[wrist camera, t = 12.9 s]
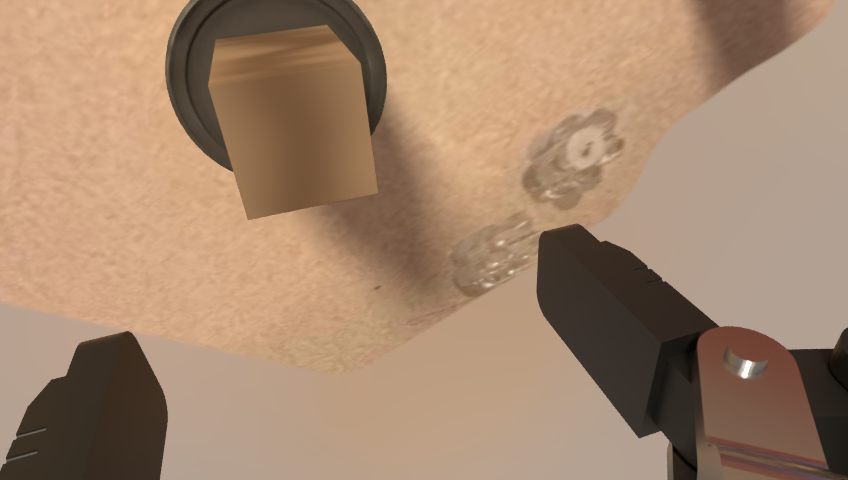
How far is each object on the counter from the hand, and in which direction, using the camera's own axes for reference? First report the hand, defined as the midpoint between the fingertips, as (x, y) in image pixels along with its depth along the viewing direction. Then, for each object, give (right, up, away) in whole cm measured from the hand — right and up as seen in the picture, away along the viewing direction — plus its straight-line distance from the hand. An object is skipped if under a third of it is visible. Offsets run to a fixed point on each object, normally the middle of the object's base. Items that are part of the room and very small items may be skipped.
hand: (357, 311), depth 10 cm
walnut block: (-5, +9, +15) cm, 18 cm away
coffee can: (-10, +16, +26) cm, 32 cm away
